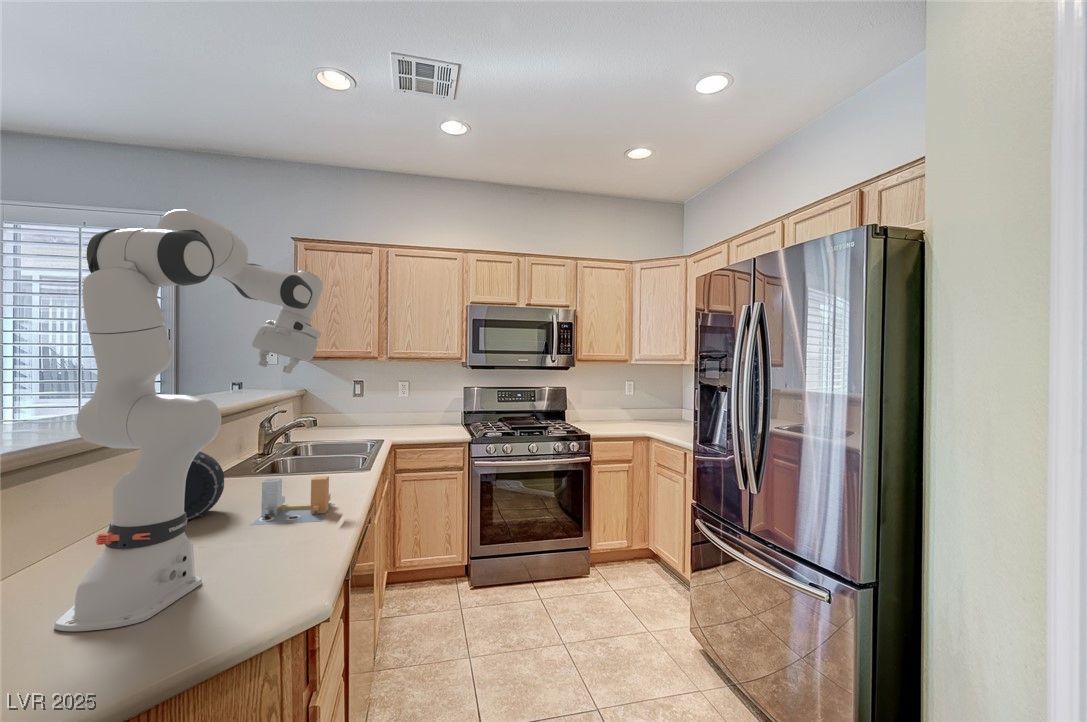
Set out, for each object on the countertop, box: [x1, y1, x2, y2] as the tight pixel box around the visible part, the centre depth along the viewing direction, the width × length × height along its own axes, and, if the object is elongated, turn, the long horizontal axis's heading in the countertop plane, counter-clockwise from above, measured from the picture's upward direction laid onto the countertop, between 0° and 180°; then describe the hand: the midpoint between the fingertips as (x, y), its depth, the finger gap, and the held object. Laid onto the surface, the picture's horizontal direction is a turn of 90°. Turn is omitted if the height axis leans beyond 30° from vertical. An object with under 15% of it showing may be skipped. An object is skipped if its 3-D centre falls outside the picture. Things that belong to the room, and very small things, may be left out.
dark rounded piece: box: [184, 450, 225, 522], centre depth 135 cm, size 11×20×20 cm, turn 119°
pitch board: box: [250, 502, 335, 526], centre depth 139 cm, size 17×18×2 cm
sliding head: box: [310, 475, 331, 515], centre depth 142 cm, size 12×4×10 cm, turn 12°
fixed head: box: [260, 477, 286, 518], centre depth 139 cm, size 12×4×10 cm, turn 12°
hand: (274, 369), depth 137 cm, fingers open, 8 cm apart
